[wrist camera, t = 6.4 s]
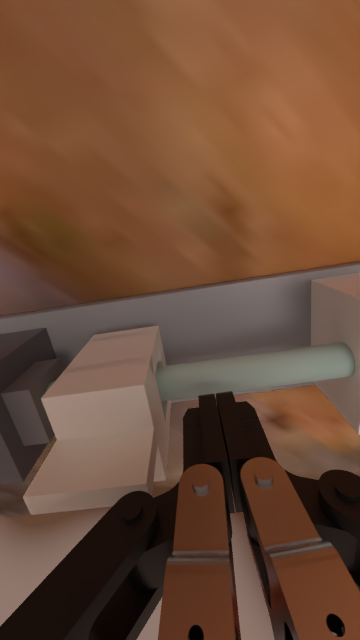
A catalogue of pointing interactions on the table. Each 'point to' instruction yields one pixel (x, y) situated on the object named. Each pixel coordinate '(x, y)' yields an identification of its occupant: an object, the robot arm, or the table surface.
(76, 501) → the cream stepped block
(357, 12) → the table surface
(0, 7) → the table surface
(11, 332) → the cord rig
